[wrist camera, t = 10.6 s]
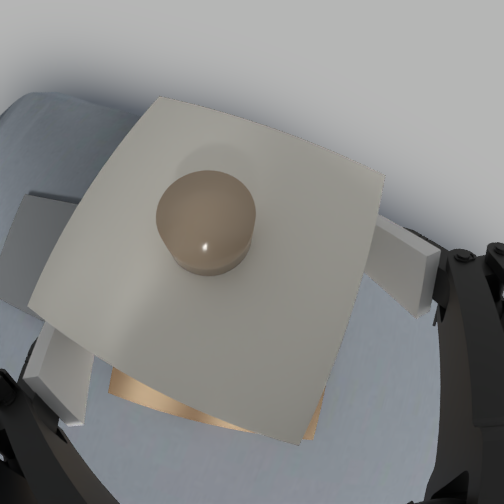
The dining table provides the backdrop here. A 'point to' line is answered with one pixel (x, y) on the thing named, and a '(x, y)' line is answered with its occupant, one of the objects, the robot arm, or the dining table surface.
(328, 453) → the dining table surface
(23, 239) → the mat
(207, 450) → the dining table surface
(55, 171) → the dining table surface
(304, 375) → the knobbed white box
